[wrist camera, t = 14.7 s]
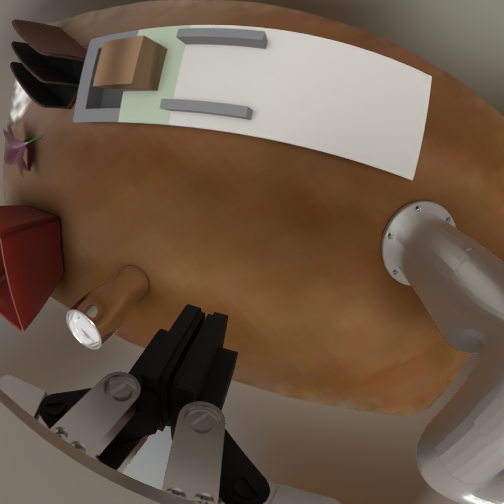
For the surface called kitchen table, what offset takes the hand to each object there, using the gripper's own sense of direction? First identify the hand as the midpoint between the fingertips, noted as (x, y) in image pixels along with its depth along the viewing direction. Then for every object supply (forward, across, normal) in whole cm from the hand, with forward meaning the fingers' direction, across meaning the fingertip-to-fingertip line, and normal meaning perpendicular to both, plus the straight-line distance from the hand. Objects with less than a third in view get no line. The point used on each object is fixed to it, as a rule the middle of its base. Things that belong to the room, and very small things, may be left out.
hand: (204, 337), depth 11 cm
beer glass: (+27, +20, +18) cm, 38 cm away
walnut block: (+23, +20, -15) cm, 34 cm away
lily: (+27, +49, -4) cm, 56 cm away
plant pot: (+27, +45, +16) cm, 55 cm away
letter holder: (+28, +42, -20) cm, 54 cm away
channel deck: (+27, +8, -15) cm, 32 cm away
